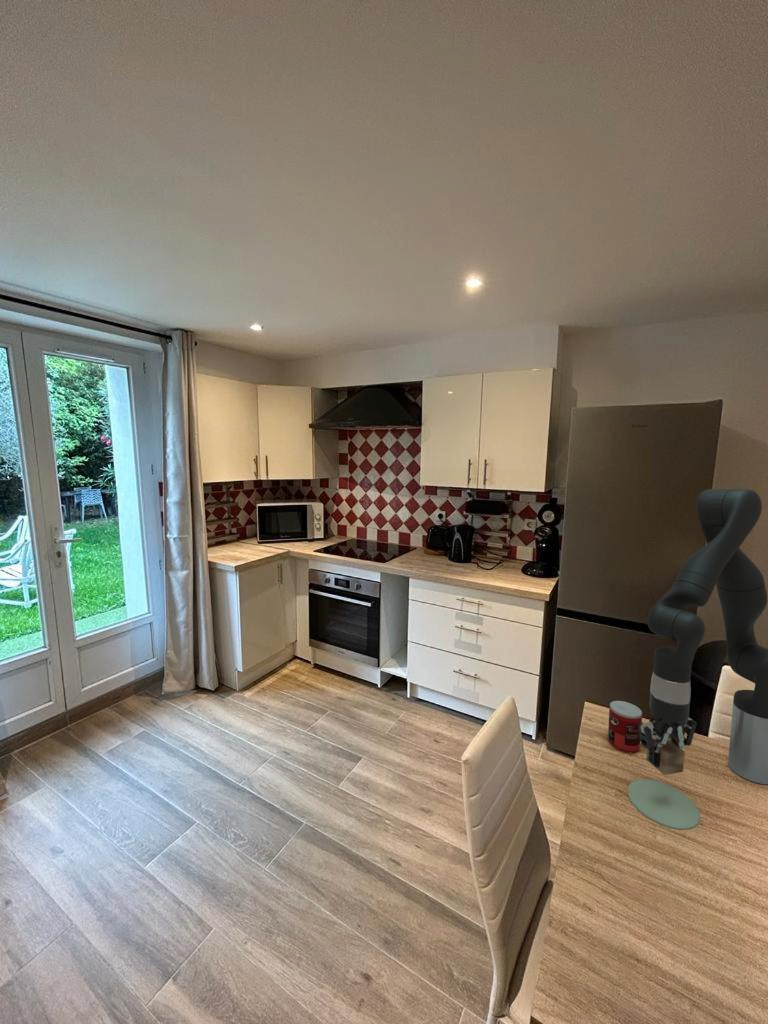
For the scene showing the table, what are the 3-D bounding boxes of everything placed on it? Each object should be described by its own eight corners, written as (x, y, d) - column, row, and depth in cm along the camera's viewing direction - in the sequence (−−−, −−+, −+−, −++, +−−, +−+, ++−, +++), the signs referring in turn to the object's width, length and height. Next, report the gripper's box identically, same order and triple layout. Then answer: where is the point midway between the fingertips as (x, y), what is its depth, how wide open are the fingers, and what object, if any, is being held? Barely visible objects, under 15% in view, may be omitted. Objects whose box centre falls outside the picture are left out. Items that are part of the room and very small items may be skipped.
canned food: (610, 732, 124) (612, 697, 123) (641, 743, 119) (644, 707, 118) (604, 745, 118) (606, 709, 117) (637, 757, 113) (639, 719, 112)
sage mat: (662, 777, 106) (662, 775, 106) (715, 823, 92) (716, 820, 92) (614, 786, 103) (614, 784, 103) (662, 834, 90) (662, 832, 90)
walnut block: (664, 756, 100) (665, 737, 99) (682, 771, 95) (684, 751, 94) (646, 759, 99) (647, 740, 98) (664, 774, 94) (665, 754, 93)
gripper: (681, 682, 100) (676, 748, 102) (629, 688, 97) (625, 756, 99) (711, 699, 93) (705, 770, 95) (656, 706, 90) (651, 779, 92)
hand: (664, 763), depth 97 cm, fingers closed on walnut block, 5 cm apart
